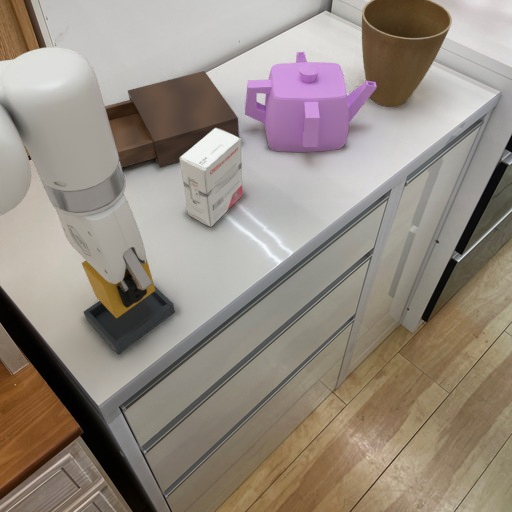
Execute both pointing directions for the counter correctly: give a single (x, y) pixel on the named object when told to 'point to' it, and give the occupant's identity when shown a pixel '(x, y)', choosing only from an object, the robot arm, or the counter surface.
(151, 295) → the dark grey tray
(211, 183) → the ink box
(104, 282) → the box
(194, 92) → the cabinet
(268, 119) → the teakettle
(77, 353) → the counter surface
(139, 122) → the drawer
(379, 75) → the plant pot
